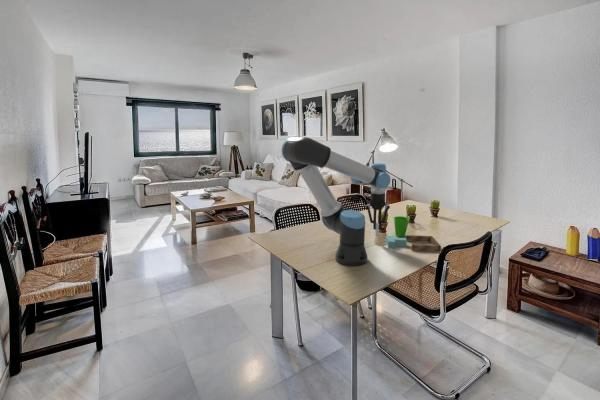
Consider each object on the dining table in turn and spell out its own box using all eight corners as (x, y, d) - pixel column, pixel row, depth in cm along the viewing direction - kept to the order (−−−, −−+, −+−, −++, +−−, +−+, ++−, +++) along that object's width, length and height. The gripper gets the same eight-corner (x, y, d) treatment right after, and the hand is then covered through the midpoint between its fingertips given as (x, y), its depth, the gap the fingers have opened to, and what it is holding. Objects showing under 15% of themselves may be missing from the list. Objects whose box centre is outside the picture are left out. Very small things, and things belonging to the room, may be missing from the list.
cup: (409, 235, 194) (410, 217, 191) (406, 239, 186) (408, 221, 183) (393, 232, 198) (395, 215, 195) (390, 237, 190) (392, 219, 187)
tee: (388, 247, 173) (388, 241, 173) (385, 241, 183) (385, 235, 182) (407, 248, 172) (407, 242, 171) (403, 242, 182) (404, 236, 181)
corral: (411, 250, 169) (412, 245, 168) (405, 240, 185) (405, 235, 184) (440, 251, 167) (440, 246, 166) (431, 241, 183) (432, 235, 182)
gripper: (366, 194, 170) (365, 237, 175) (391, 194, 169) (390, 237, 174) (364, 191, 177) (364, 232, 182) (389, 191, 176) (388, 233, 181)
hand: (376, 235), depth 178 cm, fingers closed
